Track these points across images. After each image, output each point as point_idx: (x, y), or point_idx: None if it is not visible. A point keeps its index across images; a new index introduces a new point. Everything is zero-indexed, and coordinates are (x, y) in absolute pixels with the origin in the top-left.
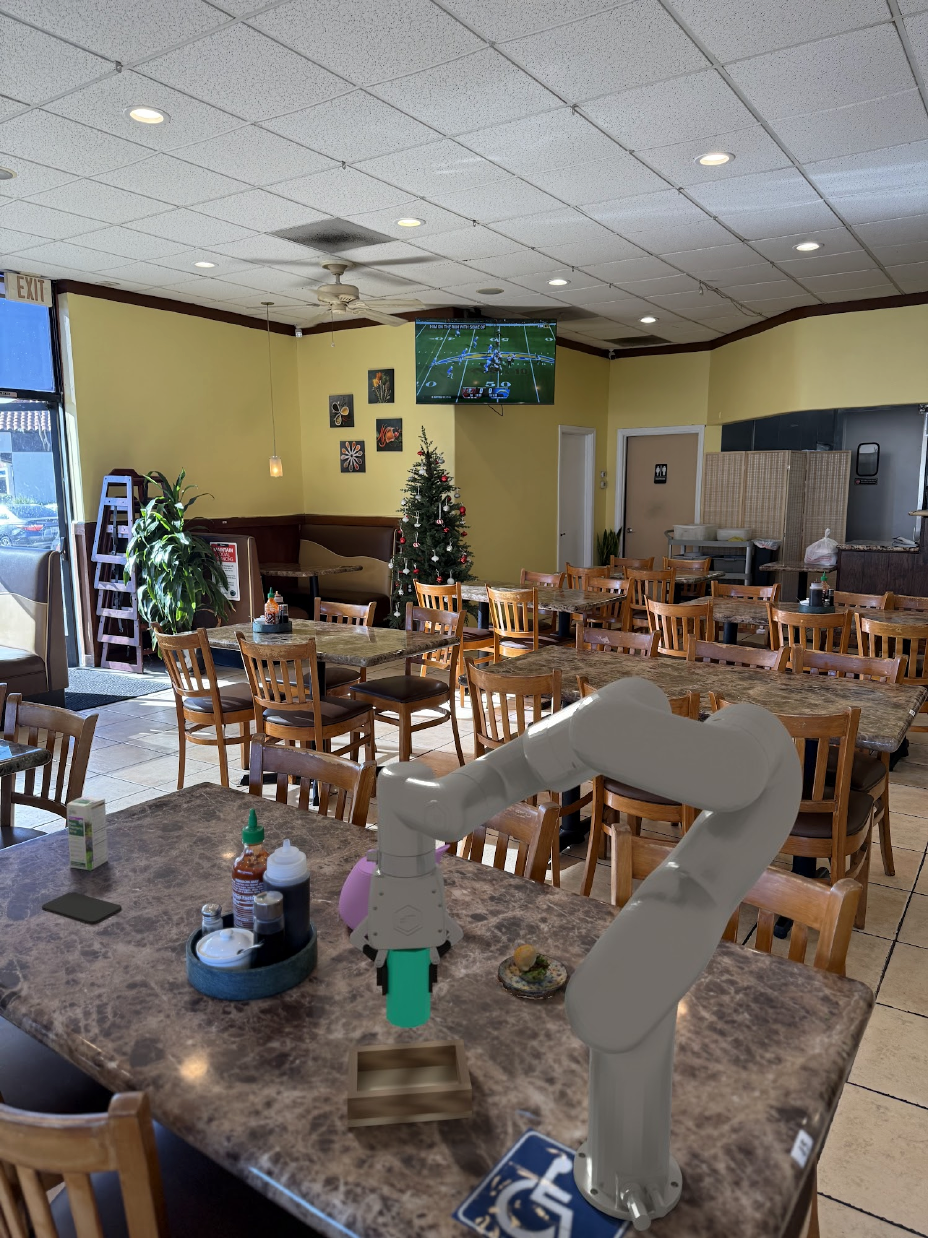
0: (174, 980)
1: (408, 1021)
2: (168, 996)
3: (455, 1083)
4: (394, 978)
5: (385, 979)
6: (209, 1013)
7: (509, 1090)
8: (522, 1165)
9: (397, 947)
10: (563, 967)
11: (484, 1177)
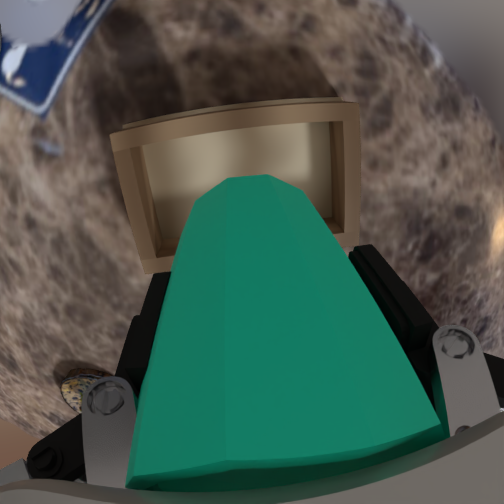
0: (487, 351)
1: (249, 181)
2: (496, 331)
3: (156, 193)
4: (356, 279)
5: (388, 286)
6: (477, 316)
7: (76, 195)
8: (55, 43)
9: (446, 471)
10: (71, 406)
11: (108, 8)
